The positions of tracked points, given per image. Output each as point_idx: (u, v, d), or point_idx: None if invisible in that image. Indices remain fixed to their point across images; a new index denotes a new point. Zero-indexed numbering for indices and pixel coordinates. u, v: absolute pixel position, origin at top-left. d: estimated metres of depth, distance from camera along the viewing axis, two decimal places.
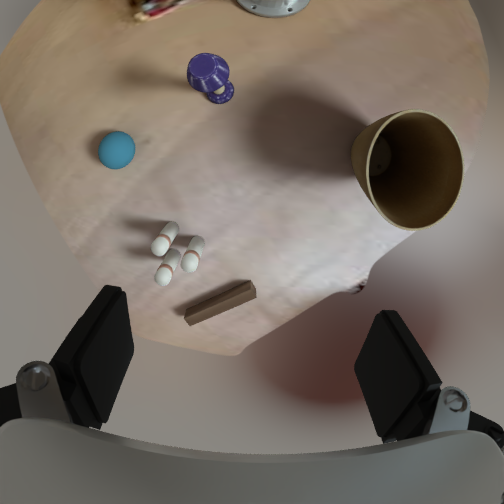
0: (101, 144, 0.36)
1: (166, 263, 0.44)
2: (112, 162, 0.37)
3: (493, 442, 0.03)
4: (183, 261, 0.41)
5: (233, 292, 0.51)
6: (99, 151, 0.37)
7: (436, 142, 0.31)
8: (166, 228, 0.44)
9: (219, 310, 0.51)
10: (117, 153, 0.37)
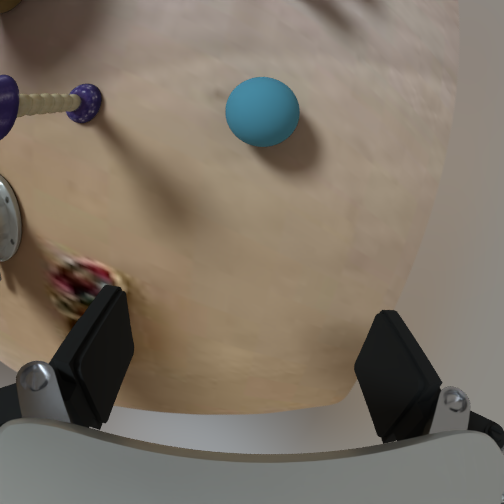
0: (270, 135, 0.20)
1: None
2: (274, 90, 0.19)
3: (493, 442, 0.03)
4: None
5: None
6: (283, 128, 0.20)
7: None
8: None
9: None
10: (253, 94, 0.19)
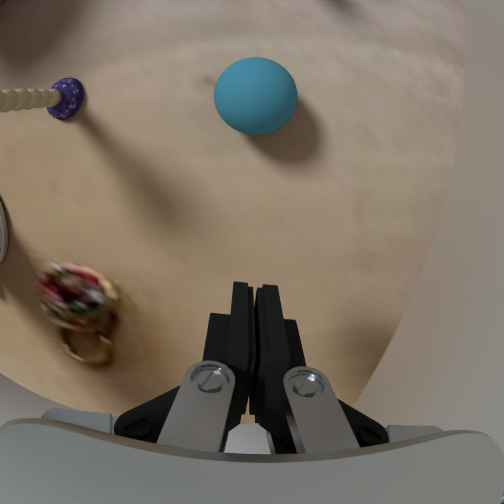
0: (265, 120, 0.17)
1: None
2: (267, 70, 0.16)
3: (493, 442, 0.03)
4: None
5: None
6: (279, 111, 0.17)
7: None
8: None
9: None
10: (243, 75, 0.16)
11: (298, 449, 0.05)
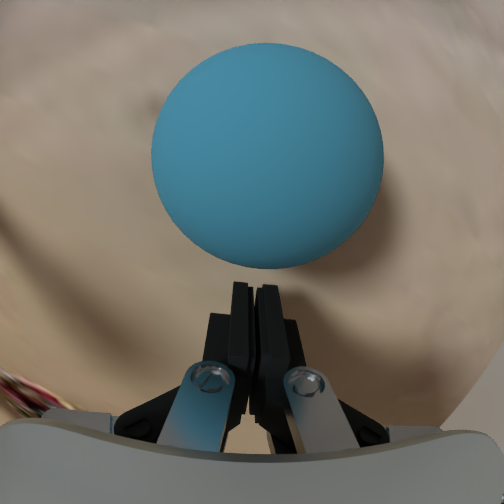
0: (300, 255, 0.06)
1: None
2: (313, 85, 0.04)
3: (493, 442, 0.03)
4: None
5: None
6: (344, 228, 0.06)
7: None
8: None
9: None
10: (224, 107, 0.04)
11: (298, 449, 0.05)
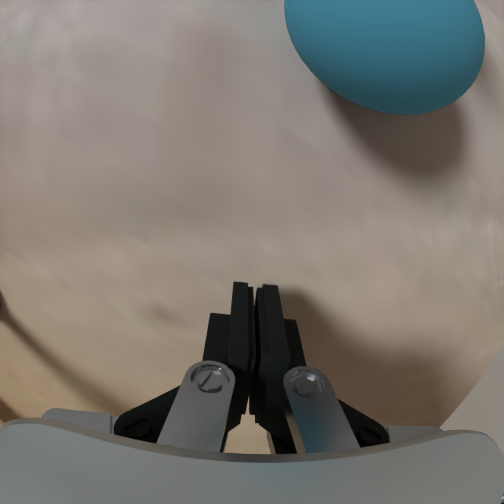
0: None
1: None
2: (393, 108, 0.06)
3: (493, 442, 0.03)
4: None
5: None
6: None
7: None
8: None
9: None
10: (340, 78, 0.06)
11: (298, 449, 0.05)
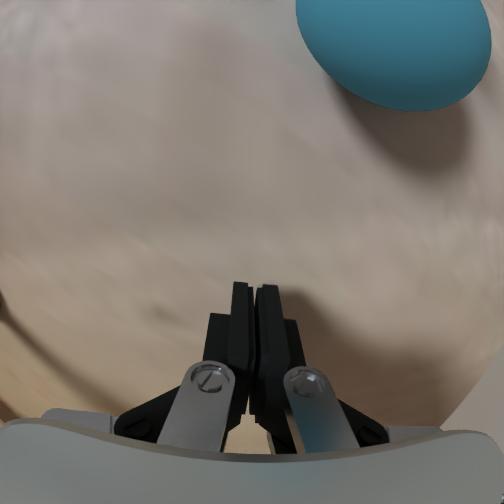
0: None
1: None
2: (409, 103, 0.06)
3: (493, 442, 0.03)
4: None
5: None
6: None
7: None
8: None
9: None
10: (360, 71, 0.05)
11: (298, 449, 0.05)
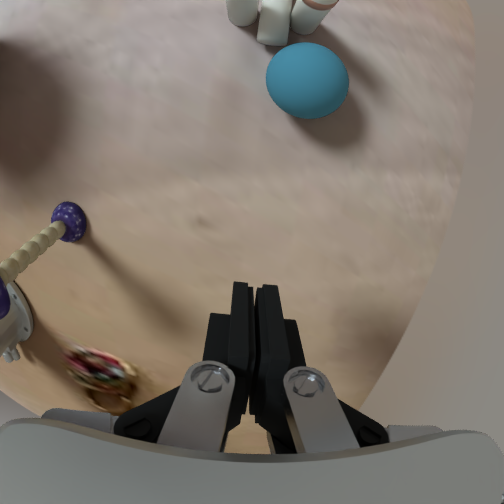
0: None
1: (306, 6, 0.13)
2: (307, 116, 0.18)
3: (493, 442, 0.03)
4: None
5: None
6: None
7: None
8: (272, 2, 0.15)
9: None
10: (286, 107, 0.18)
11: (298, 449, 0.05)
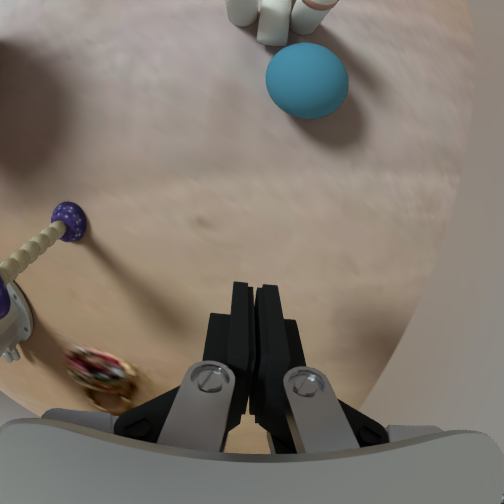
0: None
1: (306, 6, 0.13)
2: (307, 116, 0.18)
3: (493, 442, 0.03)
4: None
5: None
6: None
7: None
8: (272, 2, 0.15)
9: None
10: (286, 107, 0.18)
11: (298, 449, 0.05)
